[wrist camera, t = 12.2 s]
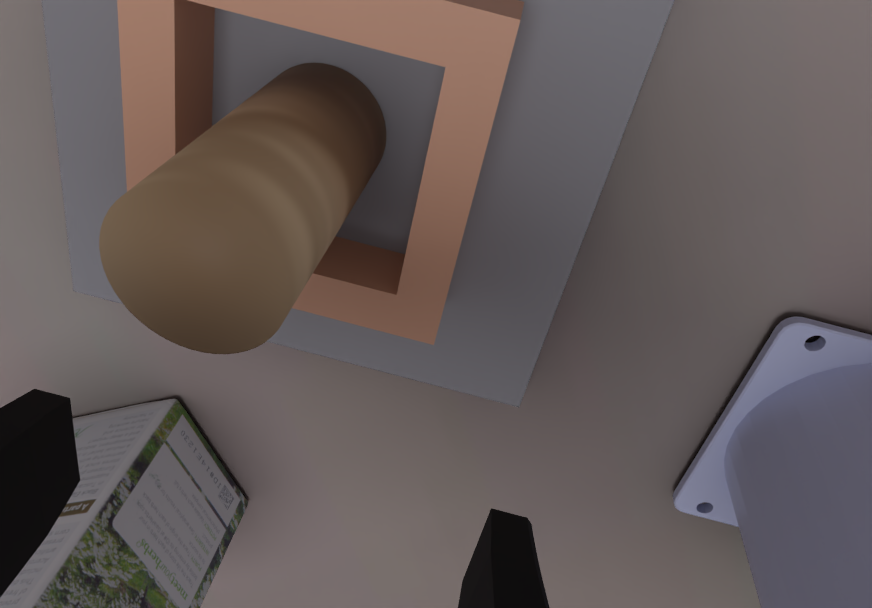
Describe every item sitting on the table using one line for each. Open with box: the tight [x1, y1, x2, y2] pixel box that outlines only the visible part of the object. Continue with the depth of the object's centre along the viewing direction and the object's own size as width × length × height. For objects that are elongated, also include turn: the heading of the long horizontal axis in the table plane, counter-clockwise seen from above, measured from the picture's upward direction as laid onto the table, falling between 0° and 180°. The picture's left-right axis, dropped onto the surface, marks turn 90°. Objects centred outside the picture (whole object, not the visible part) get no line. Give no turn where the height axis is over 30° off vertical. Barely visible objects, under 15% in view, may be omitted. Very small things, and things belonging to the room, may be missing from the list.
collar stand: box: [42, 0, 674, 407], centre depth 16 cm, size 14×14×3 cm
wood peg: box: [99, 63, 386, 354], centre depth 14 cm, size 3×3×7 cm
